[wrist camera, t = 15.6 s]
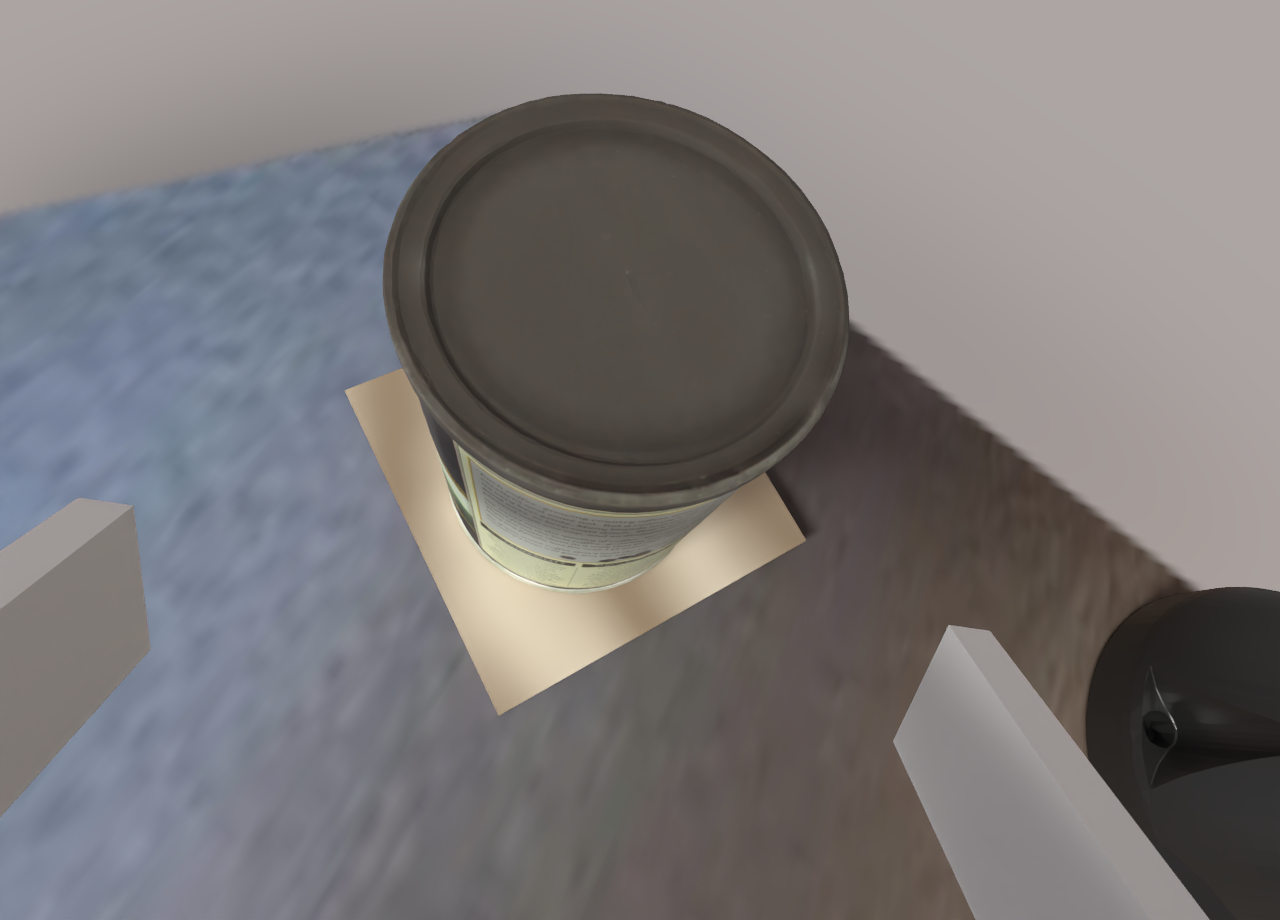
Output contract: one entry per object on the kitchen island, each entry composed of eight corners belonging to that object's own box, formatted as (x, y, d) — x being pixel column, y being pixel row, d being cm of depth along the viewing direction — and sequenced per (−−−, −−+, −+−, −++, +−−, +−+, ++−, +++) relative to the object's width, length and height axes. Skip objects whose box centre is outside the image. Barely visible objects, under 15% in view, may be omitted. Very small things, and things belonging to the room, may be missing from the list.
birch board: (642, 283, 33) (645, 273, 32) (798, 544, 30) (806, 540, 29) (349, 398, 28) (344, 390, 28) (499, 714, 26) (498, 715, 25)
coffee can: (389, 460, 27) (272, 240, 14) (581, 312, 31) (632, 25, 17) (570, 655, 26) (628, 617, 13) (747, 479, 29) (936, 306, 16)
